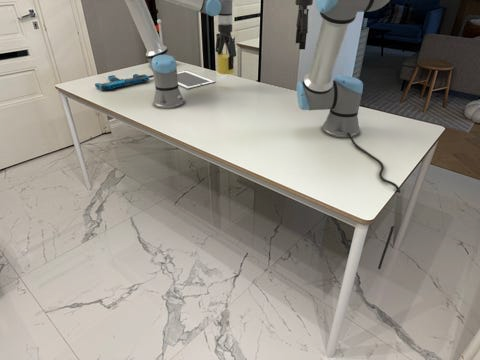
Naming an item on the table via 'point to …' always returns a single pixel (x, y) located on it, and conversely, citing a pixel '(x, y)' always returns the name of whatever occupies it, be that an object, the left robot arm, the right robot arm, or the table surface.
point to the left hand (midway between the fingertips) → (225, 67)
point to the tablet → (191, 80)
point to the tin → (224, 64)
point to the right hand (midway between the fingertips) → (300, 46)
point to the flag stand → (159, 29)
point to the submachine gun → (122, 81)
